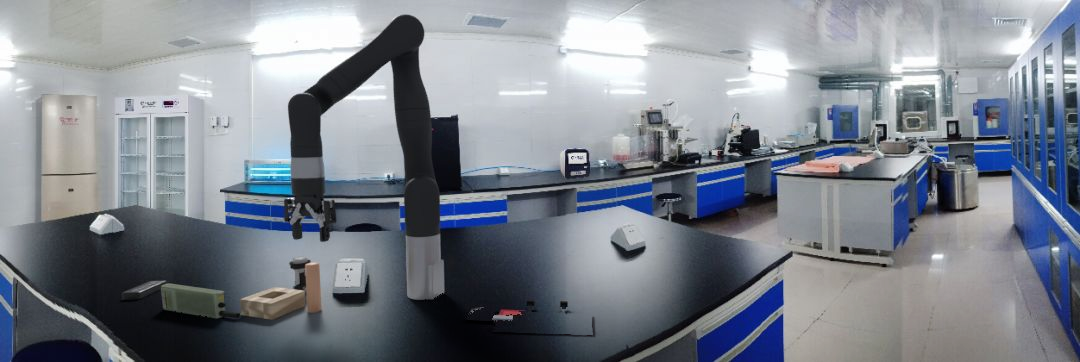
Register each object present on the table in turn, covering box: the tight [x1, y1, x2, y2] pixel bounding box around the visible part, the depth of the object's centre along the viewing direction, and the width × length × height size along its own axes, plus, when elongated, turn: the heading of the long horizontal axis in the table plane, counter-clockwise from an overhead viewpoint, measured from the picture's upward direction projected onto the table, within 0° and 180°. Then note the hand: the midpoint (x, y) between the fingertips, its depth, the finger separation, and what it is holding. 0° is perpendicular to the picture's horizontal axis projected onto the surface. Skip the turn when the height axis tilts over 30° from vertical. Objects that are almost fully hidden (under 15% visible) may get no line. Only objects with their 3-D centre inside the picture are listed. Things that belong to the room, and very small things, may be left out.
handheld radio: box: [160, 283, 241, 319], centre depth 115 cm, size 7×3×25 cm
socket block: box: [239, 286, 306, 320], centre depth 117 cm, size 10×10×4 cm
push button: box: [288, 256, 312, 294], centre depth 129 cm, size 7×5×10 cm
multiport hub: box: [121, 280, 167, 301], centre depth 130 cm, size 4×11×2 cm, turn 6°
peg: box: [305, 262, 322, 314], centre depth 116 cm, size 3×3×12 cm
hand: (311, 240), depth 115 cm, fingers open, 8 cm apart
